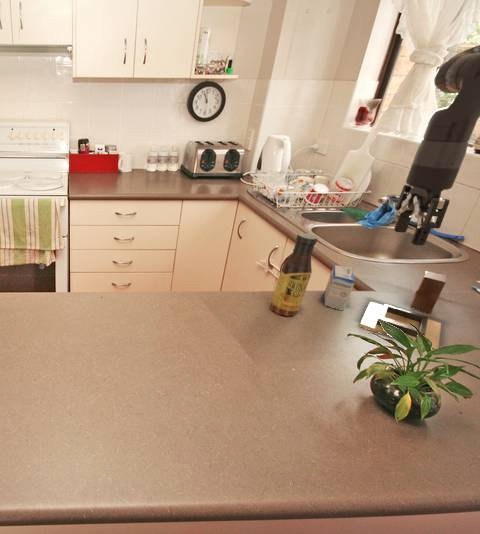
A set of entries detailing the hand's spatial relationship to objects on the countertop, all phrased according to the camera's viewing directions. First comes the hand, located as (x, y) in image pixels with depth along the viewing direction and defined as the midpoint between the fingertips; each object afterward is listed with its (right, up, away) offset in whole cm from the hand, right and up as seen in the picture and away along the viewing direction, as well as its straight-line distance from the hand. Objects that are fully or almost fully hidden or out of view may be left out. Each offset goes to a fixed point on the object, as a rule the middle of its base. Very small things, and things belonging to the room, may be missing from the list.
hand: (407, 237), depth 86 cm
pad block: (+14, -17, +13) cm, 26 cm away
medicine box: (-7, -16, +14) cm, 23 cm away
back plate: (+2, -20, +5) cm, 21 cm away
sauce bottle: (-22, -18, +10) cm, 30 cm away
